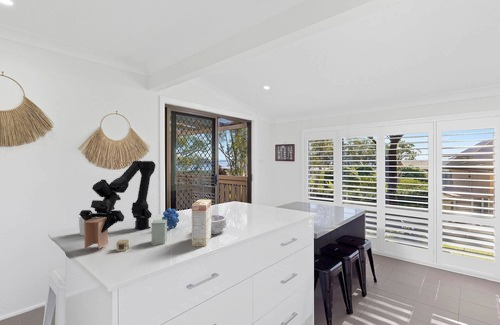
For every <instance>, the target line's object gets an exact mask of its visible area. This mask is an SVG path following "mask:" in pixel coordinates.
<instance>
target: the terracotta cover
mask: <svg viewBox="0 0 500 325" xmlns="http://www.w3.org/2000/svg"><path fill="white" fill-rule="evenodd" d="M105 221H106V218H100V217H96V218H91V219H89V220H86V221H84V239H83V240H84V241H83V242H84V243H83V244H84V246H83V247H84V249H87V248H89V247H91V246H92V245H95V244H97V249H101V248H103V247H104V246H106V245H108V243H109V236H108V235H109V231H108V230H109V228H108V229H107V230H106V231H104V232H103V233H102V232H101V231H102V228H103V226H104V224H105Z"/></svg>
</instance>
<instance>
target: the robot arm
mask: <svg viewBox="0 0 500 325" xmlns="http://www.w3.org/2000/svg"><path fill="white" fill-rule="evenodd" d="M155 169H156V163H155V162H154V161H153V160H134V161H132V163H131V164H130V166H129V167H128V168H127V169H126V170H125V171H124V173H122V174H121V175H120V176H119V177H118V178H115V179H113V180H112V181H111V182H110V183H109V182H107V180H106V179H100V180H99V181H97V182H96V183H95V184H93V186H92V187H91V188H92V190H93V191H94V193H96V194H97V196H99V197H100V198H103V199H102V200H101V199H99V200H97V199H93V200H91V205H90V208H92V209H94V211H95V212H93V211H92V210H91V209H82V210H81V211H80V212H79V213H78V216H81V217H82V218H83V219H84V220H85V221H86V220H89V219H91V218H95V217H96V218H106V221H105V224H104V226H103V228H102V231H101V232H102V233H103V232H104V231H106V230H107V229H108V230H109V228H111V227H112V226H113V225H115V224H117V223H119V222H122V223H123V222H124V220H125V215H124V214H123V213H122V211H121V210H115V209H116V208H115V205H116V202H117V201H121V196H120V194H124V193H125V192H126V190H128V188H129V183H130V182H131V180H132V179H133V178H134V176H136V174H137V173H138V172H140V175H141V176H140V181H139V187H138V193H137V199H136V200H135V202H132V203H131V205H132V206H131V209H130V210H131V214H132V216H133V219H135V221H134V226H135V227H134V229H135V230H138V231H142V230H147V229H151V226H150V218H152V215H153V214H152V212H151V211H150V210H149V203H148V201H147V199H148V193H149V188H150V180H151V176H152V175H153V174H154V172H155ZM118 193H119V194H118Z"/></svg>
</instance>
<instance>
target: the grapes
mask: <svg viewBox="0 0 500 325" xmlns="http://www.w3.org/2000/svg"><path fill="white" fill-rule="evenodd" d="M162 214H163V216H162V217H161V220H167V229H173V228H176V227H177V225H178V223H179V222H180V218H179V216H180V214H179V213H178V212H177V210H176V208H170V207H169V208H167V209H166V210H164V211H163V213H162Z"/></svg>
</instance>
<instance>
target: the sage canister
mask: <svg viewBox="0 0 500 325" xmlns="http://www.w3.org/2000/svg"><path fill="white" fill-rule="evenodd" d="M150 225H151V245H165V244H166V242H167V241H168V226H167V220H162V219H154V220H152V222H151V224H150Z"/></svg>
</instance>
